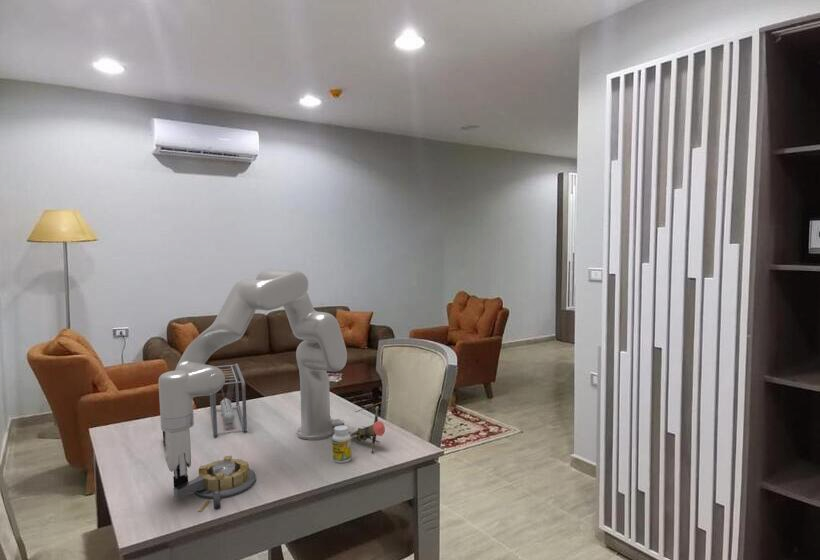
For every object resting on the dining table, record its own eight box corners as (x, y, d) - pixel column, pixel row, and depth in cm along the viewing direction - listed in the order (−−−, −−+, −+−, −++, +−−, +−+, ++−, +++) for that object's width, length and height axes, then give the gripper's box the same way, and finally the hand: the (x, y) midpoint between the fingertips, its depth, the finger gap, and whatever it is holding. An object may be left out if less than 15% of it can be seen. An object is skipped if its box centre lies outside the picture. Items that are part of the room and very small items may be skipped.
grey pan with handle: (230, 464, 146) (230, 451, 146) (258, 476, 139) (257, 462, 139) (162, 493, 130) (162, 478, 130) (190, 507, 123) (189, 492, 123)
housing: (257, 467, 147) (256, 450, 147) (253, 505, 127) (252, 485, 126) (197, 474, 143) (196, 456, 143) (183, 514, 123) (182, 493, 122)
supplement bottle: (354, 456, 154) (353, 425, 153) (346, 464, 149) (345, 432, 148) (337, 454, 155) (336, 423, 155) (329, 462, 150) (328, 430, 150)
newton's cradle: (247, 433, 173) (245, 381, 172) (213, 438, 169) (211, 385, 168) (239, 406, 201) (237, 362, 199) (210, 410, 197) (208, 364, 195)
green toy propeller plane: (363, 465, 166) (403, 455, 153) (338, 458, 161) (377, 447, 148) (369, 416, 175) (407, 403, 162) (345, 408, 170) (383, 394, 157)
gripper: (157, 415, 134) (161, 483, 135) (164, 433, 121) (168, 508, 123) (188, 409, 138) (192, 475, 139) (198, 426, 125) (202, 499, 127)
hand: (181, 490), depth 131 cm, fingers closed
